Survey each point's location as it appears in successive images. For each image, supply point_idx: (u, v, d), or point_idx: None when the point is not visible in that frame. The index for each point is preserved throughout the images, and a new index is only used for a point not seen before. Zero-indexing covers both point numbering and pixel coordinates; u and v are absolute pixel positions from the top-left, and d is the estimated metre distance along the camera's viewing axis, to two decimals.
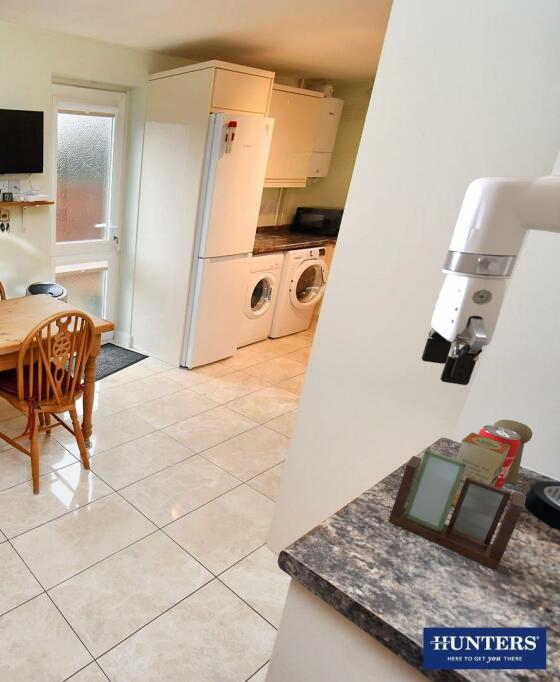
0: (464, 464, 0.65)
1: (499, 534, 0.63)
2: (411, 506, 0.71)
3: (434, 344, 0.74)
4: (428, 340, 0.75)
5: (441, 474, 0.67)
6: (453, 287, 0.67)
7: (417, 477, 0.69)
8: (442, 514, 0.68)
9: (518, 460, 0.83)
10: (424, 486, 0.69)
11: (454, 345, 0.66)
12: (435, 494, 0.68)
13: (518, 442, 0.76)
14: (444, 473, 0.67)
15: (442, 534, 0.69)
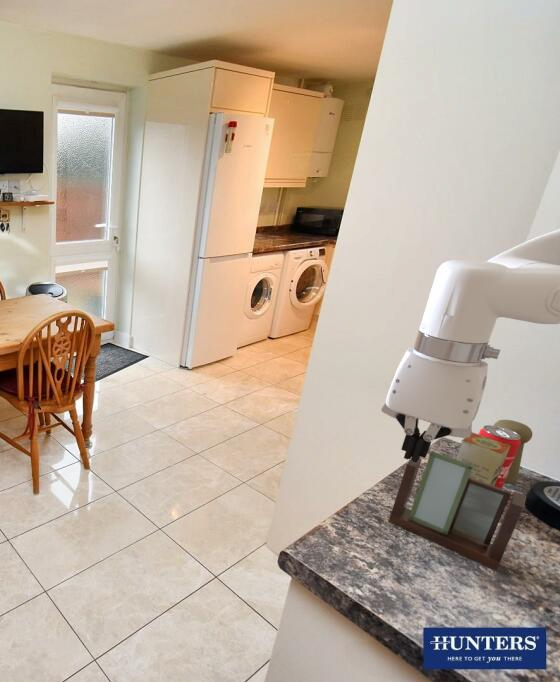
0: (470, 466, 0.64)
1: (499, 534, 0.63)
2: (417, 508, 0.71)
3: (416, 441, 0.68)
4: (413, 439, 0.68)
5: (447, 476, 0.67)
6: (451, 376, 0.62)
7: (422, 479, 0.69)
8: (448, 516, 0.68)
9: (518, 460, 0.83)
10: (429, 488, 0.69)
11: (435, 432, 0.66)
12: (441, 496, 0.68)
13: (518, 442, 0.76)
14: (450, 475, 0.66)
15: (442, 534, 0.69)
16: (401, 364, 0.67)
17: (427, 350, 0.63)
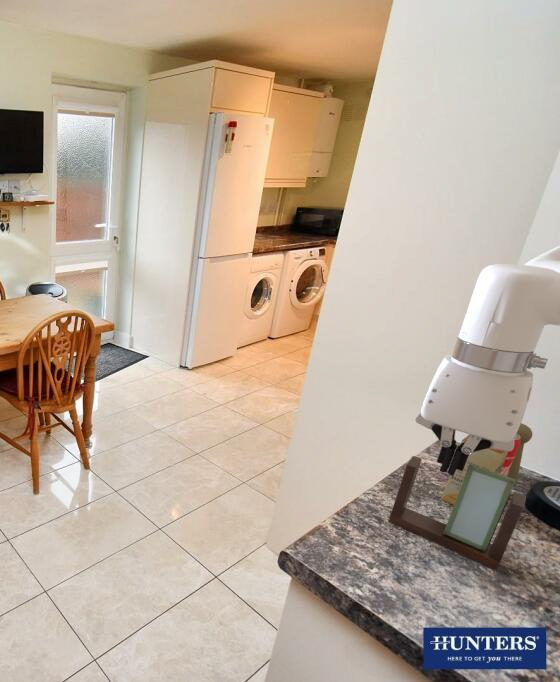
0: (512, 481, 0.61)
1: (499, 534, 0.63)
2: (452, 523, 0.67)
3: (453, 453, 0.65)
4: (450, 451, 0.65)
5: (486, 490, 0.64)
6: (494, 386, 0.59)
7: (459, 493, 0.66)
8: (487, 533, 0.64)
9: (518, 460, 0.83)
10: (467, 503, 0.66)
11: (474, 444, 0.63)
12: (479, 511, 0.65)
13: (518, 442, 0.76)
14: (490, 489, 0.63)
15: (442, 534, 0.69)
16: (438, 373, 0.64)
17: (468, 359, 0.60)
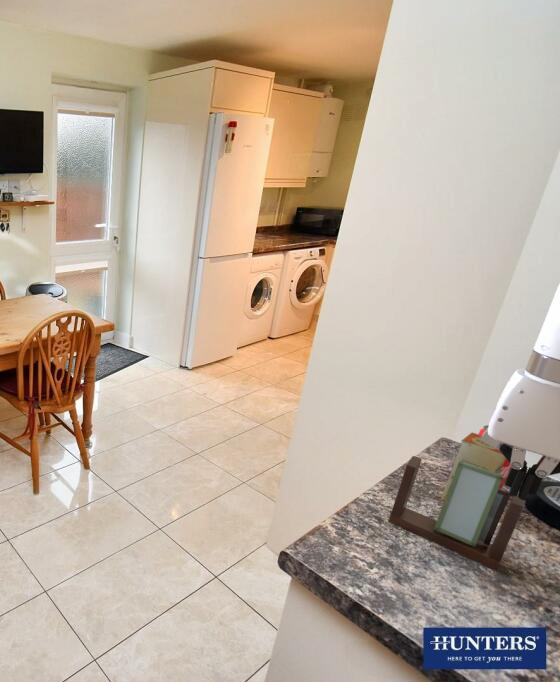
0: (501, 477, 0.62)
1: (499, 534, 0.63)
2: (443, 519, 0.68)
3: (524, 476, 0.60)
4: (522, 474, 0.59)
5: (475, 486, 0.64)
6: None
7: (449, 489, 0.67)
8: (476, 528, 0.65)
9: None
10: (456, 499, 0.66)
11: (551, 467, 0.57)
12: (469, 507, 0.66)
13: None
14: (479, 486, 0.64)
15: (442, 534, 0.69)
16: (510, 389, 0.58)
17: (548, 374, 0.55)
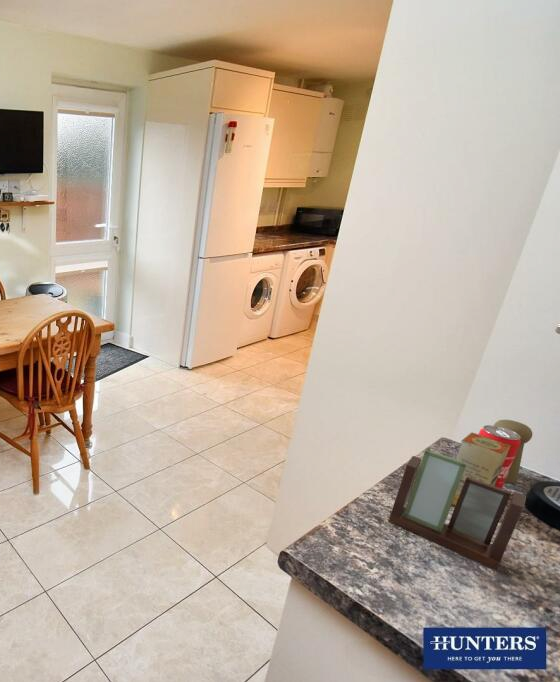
0: (464, 464, 0.65)
1: (499, 534, 0.63)
2: (411, 506, 0.71)
3: None
4: None
5: (441, 473, 0.67)
6: None
7: (417, 477, 0.70)
8: (442, 514, 0.68)
9: (518, 460, 0.83)
10: (423, 486, 0.69)
11: None
12: (435, 493, 0.68)
13: (518, 442, 0.76)
14: (444, 473, 0.67)
15: (442, 534, 0.69)
16: None
17: None
